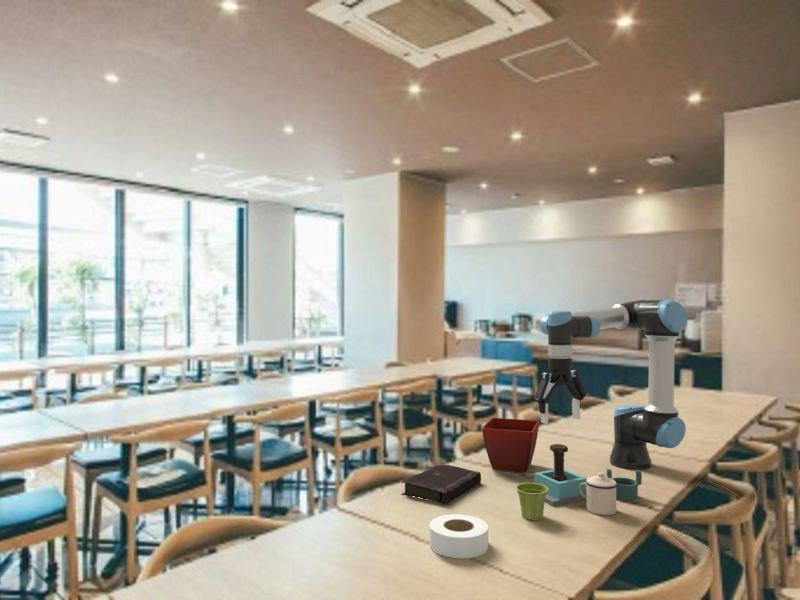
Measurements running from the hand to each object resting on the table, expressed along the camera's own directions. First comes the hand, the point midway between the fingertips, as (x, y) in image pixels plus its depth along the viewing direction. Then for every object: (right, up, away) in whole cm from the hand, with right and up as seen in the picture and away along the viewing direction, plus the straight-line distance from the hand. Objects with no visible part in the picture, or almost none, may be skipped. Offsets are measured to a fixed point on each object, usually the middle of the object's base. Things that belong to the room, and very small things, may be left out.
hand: (560, 420), depth 183 cm
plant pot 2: (-14, -25, -18) cm, 34 cm away
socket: (0, -25, 0) cm, 25 cm away
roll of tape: (-38, -26, -36) cm, 58 cm away
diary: (-39, -26, +7) cm, 47 cm away
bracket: (+20, -25, -2) cm, 32 cm away
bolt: (-1, -23, -1) cm, 23 cm away
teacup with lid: (+8, -25, -12) cm, 29 cm away
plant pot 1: (-10, -25, +30) cm, 41 cm away
